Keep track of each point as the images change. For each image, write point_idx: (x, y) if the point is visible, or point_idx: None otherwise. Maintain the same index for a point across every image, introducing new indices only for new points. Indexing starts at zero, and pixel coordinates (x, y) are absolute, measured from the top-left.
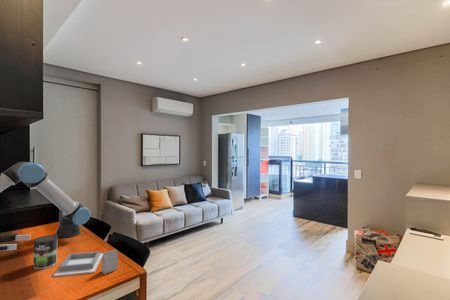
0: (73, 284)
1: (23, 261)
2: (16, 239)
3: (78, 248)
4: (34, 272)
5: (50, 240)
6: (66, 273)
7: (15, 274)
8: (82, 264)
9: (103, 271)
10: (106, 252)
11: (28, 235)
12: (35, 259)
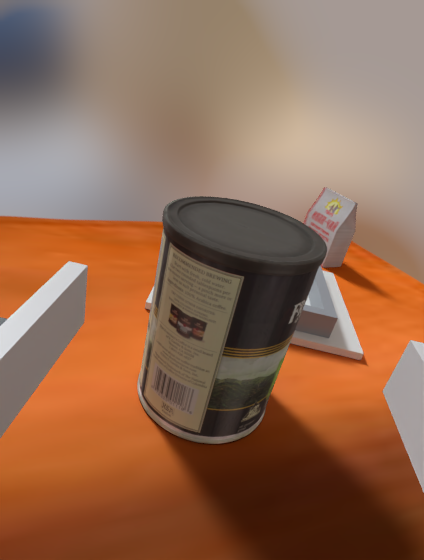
0: (411, 319)
1: (43, 538)
2: (1, 420)
3: (30, 273)
4: (304, 428)
5: (295, 221)
6: (346, 322)
7: (321, 537)
8: (321, 271)
9: (337, 261)
10: (350, 200)
11: (80, 276)
12: (270, 381)
